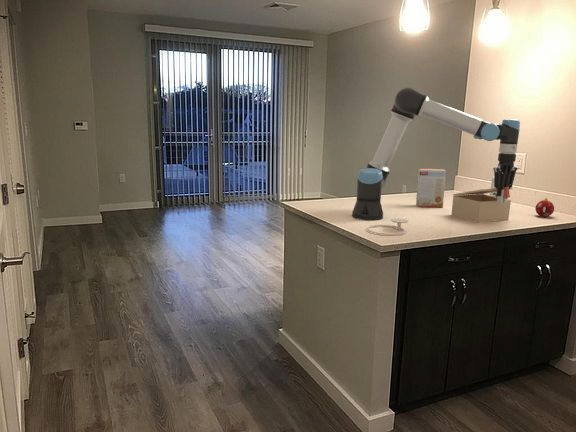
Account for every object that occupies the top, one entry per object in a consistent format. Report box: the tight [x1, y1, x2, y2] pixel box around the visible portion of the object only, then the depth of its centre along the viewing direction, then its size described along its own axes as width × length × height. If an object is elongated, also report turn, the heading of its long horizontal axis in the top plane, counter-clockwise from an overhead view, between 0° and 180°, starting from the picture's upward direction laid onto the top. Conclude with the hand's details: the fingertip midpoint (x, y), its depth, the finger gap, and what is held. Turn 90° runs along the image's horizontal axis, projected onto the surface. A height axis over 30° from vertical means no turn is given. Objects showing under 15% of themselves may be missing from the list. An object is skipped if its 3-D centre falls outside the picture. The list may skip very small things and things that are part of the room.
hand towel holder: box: [366, 217, 410, 237], centre depth 207 cm, size 17×4×21 cm
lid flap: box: [452, 187, 513, 199], centre depth 234 cm, size 20×25×5 cm
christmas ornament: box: [535, 197, 555, 218], centre depth 245 cm, size 9×9×10 cm
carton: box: [451, 193, 512, 224], centre depth 239 cm, size 20×18×10 cm
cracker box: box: [415, 168, 447, 209], centre depth 263 cm, size 14×6×21 cm, turn 84°
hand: (501, 202), depth 227 cm, fingers closed on lid flap, 1 cm apart
